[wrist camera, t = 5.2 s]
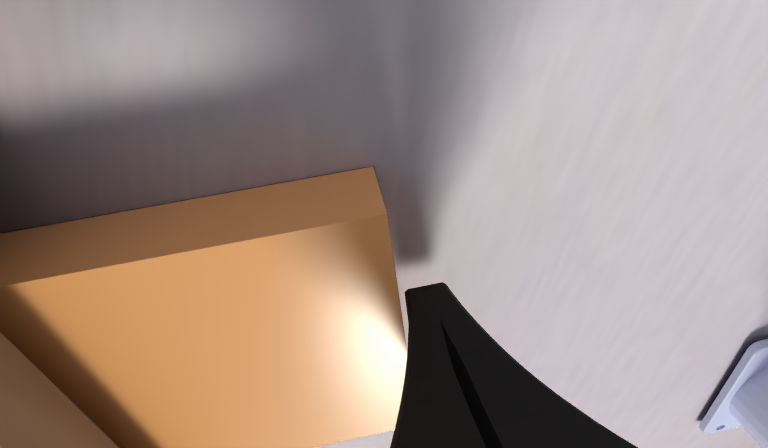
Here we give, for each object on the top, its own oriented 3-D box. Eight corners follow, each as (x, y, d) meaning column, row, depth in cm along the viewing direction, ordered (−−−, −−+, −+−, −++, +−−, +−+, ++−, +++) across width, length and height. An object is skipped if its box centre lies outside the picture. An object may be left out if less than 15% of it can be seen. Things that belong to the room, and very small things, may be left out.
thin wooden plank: (373, 166, 11) (387, 213, 9) (403, 365, 16) (417, 425, 14) (-121, 255, 10) (-231, 329, 8) (77, 433, 15) (39, 507, 13)
